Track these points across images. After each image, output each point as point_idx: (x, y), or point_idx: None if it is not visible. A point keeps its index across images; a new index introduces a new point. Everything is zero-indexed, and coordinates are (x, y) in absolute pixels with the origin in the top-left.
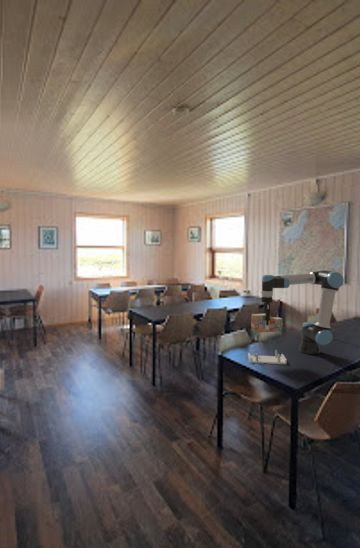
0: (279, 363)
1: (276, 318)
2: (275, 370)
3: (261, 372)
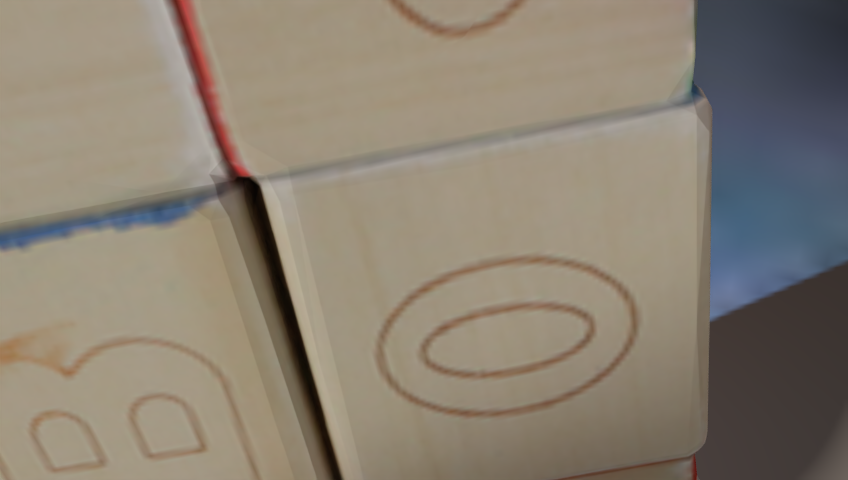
0: None
1: (419, 266)
2: (815, 73)
3: (833, 254)
